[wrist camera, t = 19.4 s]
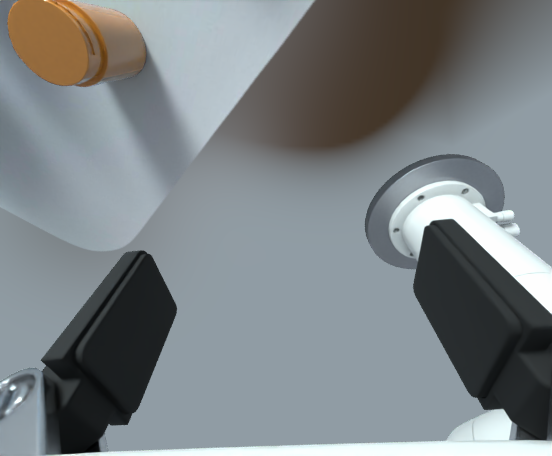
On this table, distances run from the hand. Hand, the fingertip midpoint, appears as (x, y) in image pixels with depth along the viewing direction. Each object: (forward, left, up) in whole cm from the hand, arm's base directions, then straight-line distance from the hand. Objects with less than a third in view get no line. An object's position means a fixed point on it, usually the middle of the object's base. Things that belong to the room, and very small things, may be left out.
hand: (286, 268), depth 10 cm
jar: (+16, -9, -27) cm, 33 cm away
